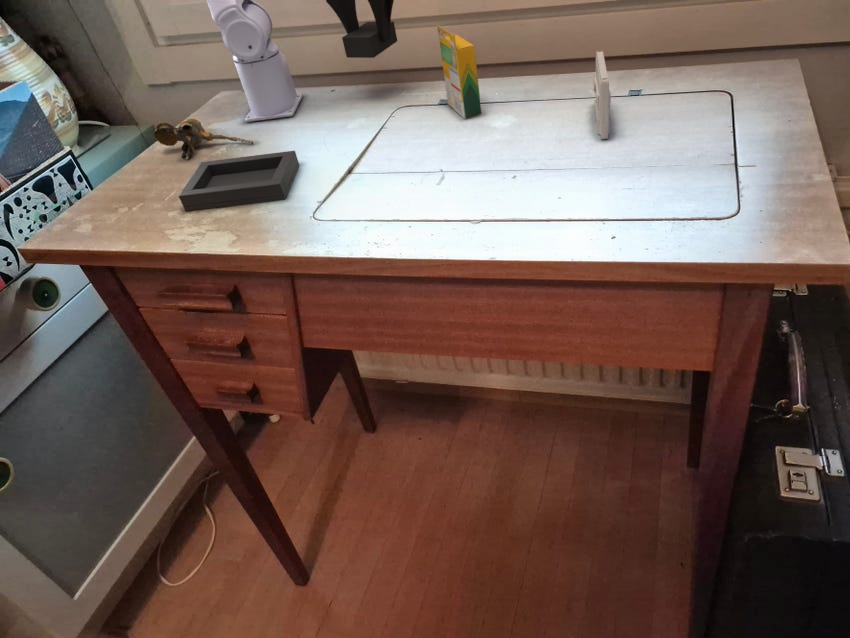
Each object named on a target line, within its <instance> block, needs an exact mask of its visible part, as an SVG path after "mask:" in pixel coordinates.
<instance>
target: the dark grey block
mask: <svg viewBox="0 0 850 638" xmlns="http://www.w3.org/2000/svg"><path fill="white" fill-rule="evenodd" d="M341 39H342V40H341V41H342V44H343V48H344V52H345V57H346V58H348V59H349V58H354V59H355V58H356V59H357V58H358V59H375V58H376V57H377V56H379V55H380V54H381V53H383V52H385V51H386V50H387V49H389V48H390V47H391V46H393V45H394V44H396V43H397V42H398V37H397V31H396V26H395V21H392V20H391V23H390V39H388V40H387V41H385V42H381V40H380V37H379V34H378V31H377V26H376V21H366V22H364V23H363V24H362V25H359V27H358V28H357V29H355V30H353V31H352V32H350V33H348V34H347V33H346V34H345V35H344V36H342V37H341Z"/></svg>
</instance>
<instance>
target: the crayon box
mask: <svg viewBox="0 0 850 638" xmlns="http://www.w3.org/2000/svg"><path fill="white" fill-rule="evenodd" d="M436 29H437V35H438V40H439V41H438V42H439V47H440V55H441V63H442V69H443V77H444V85H445V86H444V87H445V92H446V99H447V101H446V102H447V106H449V107H450V108H452V109H453V110H454V111H455V112H456V113H457V114H458V115H460V116H461V117H462V118H463V119H464V120H466V119H470V118H473V117H476V116H480V115H482V105H481V98H480V97H481V95H480V87H479V77H478V68H477V59H476V48H475V45H474V44H473V43H471V42H469V41H467V40H466V39H464V38H462V37H461V36H459V35H458V34H453V33H452V32H450V31H449V30H447V29H445V28H444V27H442V26H440V25H439V24H436ZM444 35H446V36H444Z"/></svg>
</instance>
